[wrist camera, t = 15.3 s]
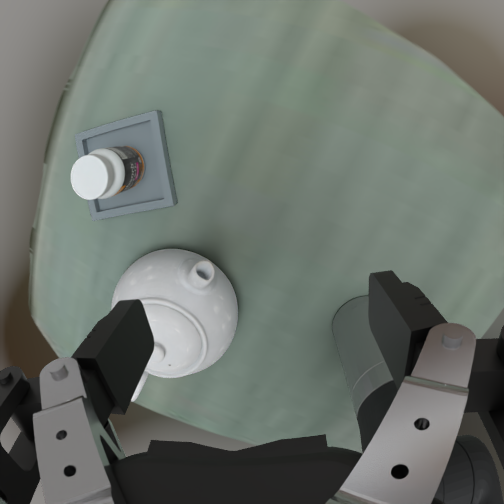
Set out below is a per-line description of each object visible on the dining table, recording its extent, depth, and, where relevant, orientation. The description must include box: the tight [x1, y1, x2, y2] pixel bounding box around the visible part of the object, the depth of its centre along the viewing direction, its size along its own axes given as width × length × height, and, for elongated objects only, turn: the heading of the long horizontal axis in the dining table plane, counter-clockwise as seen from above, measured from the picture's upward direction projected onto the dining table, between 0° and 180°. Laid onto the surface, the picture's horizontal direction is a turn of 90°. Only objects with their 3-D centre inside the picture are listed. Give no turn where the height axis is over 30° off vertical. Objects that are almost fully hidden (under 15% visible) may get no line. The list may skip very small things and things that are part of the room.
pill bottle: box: [71, 146, 145, 200], centre depth 34 cm, size 6×6×10 cm
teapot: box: [111, 249, 238, 401], centre depth 39 cm, size 19×18×14 cm
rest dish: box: [75, 110, 177, 221], centre depth 38 cm, size 12×12×2 cm
